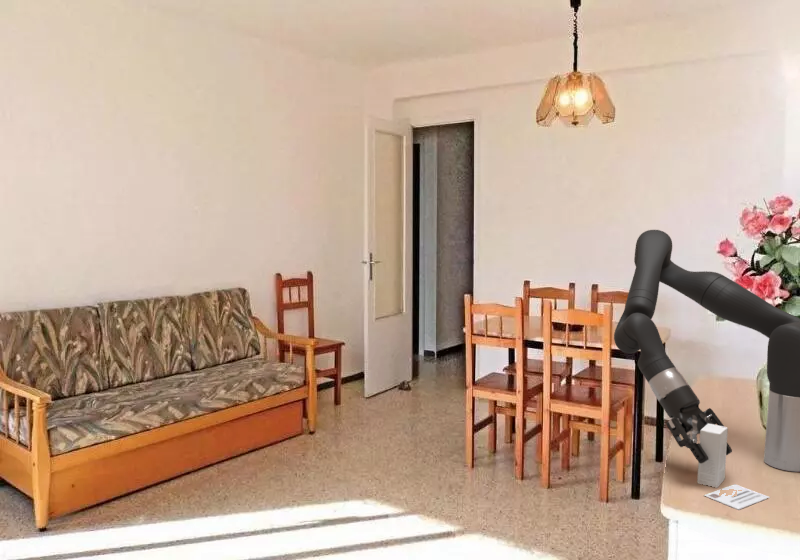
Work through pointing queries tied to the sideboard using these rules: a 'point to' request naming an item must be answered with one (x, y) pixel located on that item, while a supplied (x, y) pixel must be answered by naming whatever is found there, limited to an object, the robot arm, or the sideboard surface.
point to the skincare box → (713, 455)
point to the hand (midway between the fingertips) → (716, 457)
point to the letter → (737, 497)
